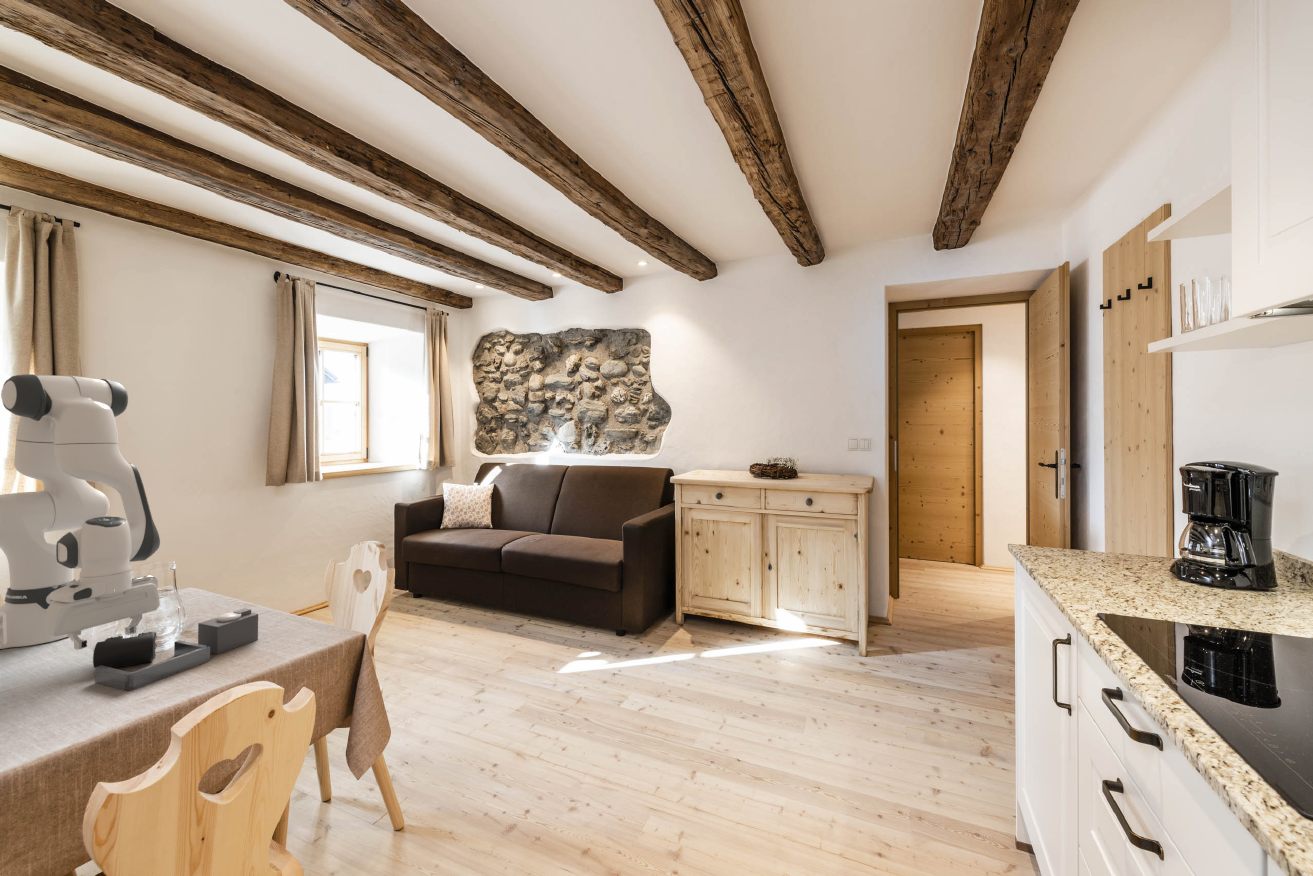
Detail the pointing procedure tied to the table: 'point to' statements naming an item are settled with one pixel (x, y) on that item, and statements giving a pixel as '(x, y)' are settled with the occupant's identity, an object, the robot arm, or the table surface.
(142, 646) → the end cap
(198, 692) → the table surface
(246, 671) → the table surface
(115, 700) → the table surface
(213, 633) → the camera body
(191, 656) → the tray
